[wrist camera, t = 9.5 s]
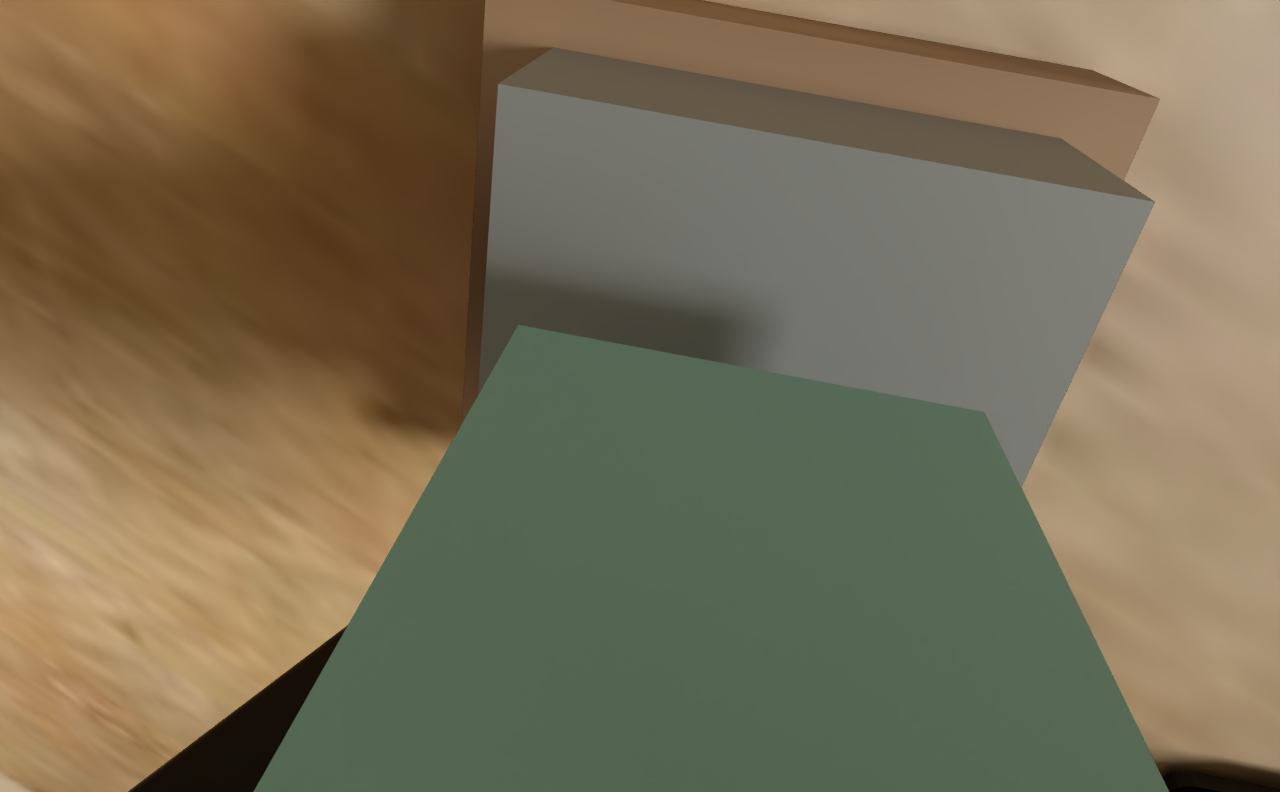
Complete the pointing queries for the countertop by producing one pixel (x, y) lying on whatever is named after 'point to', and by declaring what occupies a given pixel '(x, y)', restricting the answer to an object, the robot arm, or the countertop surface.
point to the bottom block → (795, 83)
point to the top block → (801, 236)
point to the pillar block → (713, 601)
